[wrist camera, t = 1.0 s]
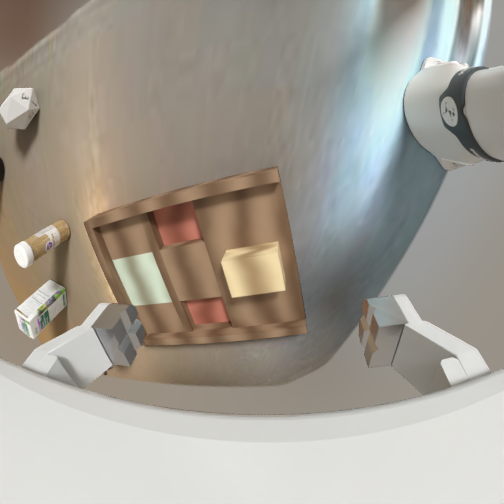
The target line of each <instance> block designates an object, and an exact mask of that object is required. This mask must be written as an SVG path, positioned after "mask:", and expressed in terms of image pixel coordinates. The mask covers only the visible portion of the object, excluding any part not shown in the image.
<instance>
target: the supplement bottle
mask: <svg viewBox="0 0 504 504" xmlns="http://www.w3.org/2000/svg"><path fill="white" fill-rule="evenodd" d="M3 176H4V163H3V160H2V159H1V158H0V181H1V180H2V179H3Z"/></svg>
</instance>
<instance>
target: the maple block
mask: <svg viewBox="0 0 504 504" xmlns="http://www.w3.org/2000/svg"><path fill="white" fill-rule="evenodd" d="M221 264H222V267H223V271H224V274H225V277H226V280H227V284H228V287H229V290H230V293H231V296H232V298H234V297H242V296H249V295H256V294H264V293H271V292H278V291H284V290H285V272H284V267H283V262H282V257H281V252H280V247H279V243H278V242H272V243H266V244H260V245H254V246H249V247H243V248H237V249H231V250H226V252H225V254H224V256H223V259H222V261H221Z"/></svg>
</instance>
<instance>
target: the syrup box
mask: <svg viewBox="0 0 504 504" xmlns="http://www.w3.org/2000/svg"><path fill="white" fill-rule="evenodd" d="M66 305H67V301H66V291H65V287H63V286H61V285H59V284H57V283H55V282H54V281H52V280H49V281H48V282H46V283H45V284H44V285H43V286H42V287H40V288H39V289H38V290H37V291H36V292H35V293H34V294H32V295H31V296H30V297H29V298H28V299H27V300H26V301H24V302H23V303H22V304H21V305H20V306H19V307H18V308H17V309H16V310H15V311H14V312H15V315H16V318H17V322H18V325H19V328H20V329H21V330H22V331H23V332H24V333H25V334H26V335H28V336H29V337H31V338H33V339H35V338H36V336H37V335H38V334H39V333H40V332H41V331H42V330H43V329H44V328H45V327H46V326H47V325H48V324H49V323H50V322H51V321H52V319H53V318H54V317H55V316H56V315H57V314H58V313H59V312H60V311H61V310H62V309H63V308H64V307H65V306H66Z"/></svg>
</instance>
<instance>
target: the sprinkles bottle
mask: <svg viewBox="0 0 504 504" xmlns="http://www.w3.org/2000/svg"><path fill="white" fill-rule="evenodd" d="M69 236H70V229H69V226H68V225H67V223H66V222H65V221H63V220H58V221H57V222H56V223H54V224H52V225H50V226H48V227H46V228H45V229H43V230H41V231H39V232H38V233H36V234H34V235H33V236H32V237H30V238H28V239H27V240H25V241H22V242H20V243H18V244H17V245H16V246H15V248H14V255H15V258H16V261H17V262H18V264H19V265H20V266H21V267H23V268H27V267H28V266H30V265H31V264H32V263H33V262H34V261H35V260H37V259H38V258H39V257H41V256H42V255H44V254H45V253H47V252H49V251H50V250H52V249H53V248H55V247H56V246H58V245H59V244H60V243H62V242H63V241H65V240H67V239H68V238H69Z"/></svg>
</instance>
